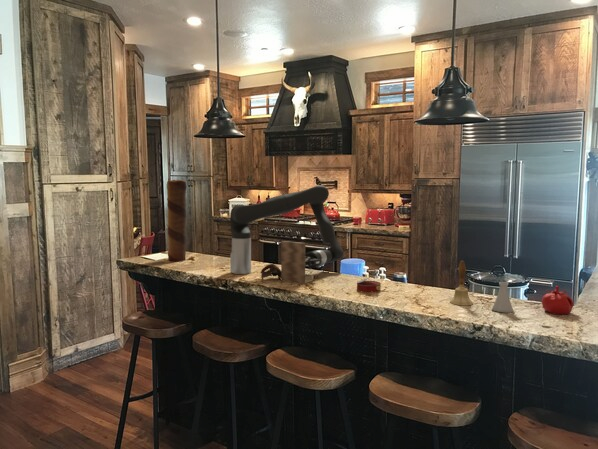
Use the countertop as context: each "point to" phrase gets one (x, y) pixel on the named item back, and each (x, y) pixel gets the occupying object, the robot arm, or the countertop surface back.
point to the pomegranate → (557, 302)
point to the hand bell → (461, 289)
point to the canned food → (369, 285)
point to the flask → (503, 300)
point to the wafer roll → (176, 219)
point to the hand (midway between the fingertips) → (295, 263)
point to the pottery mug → (270, 271)
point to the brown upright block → (293, 263)
